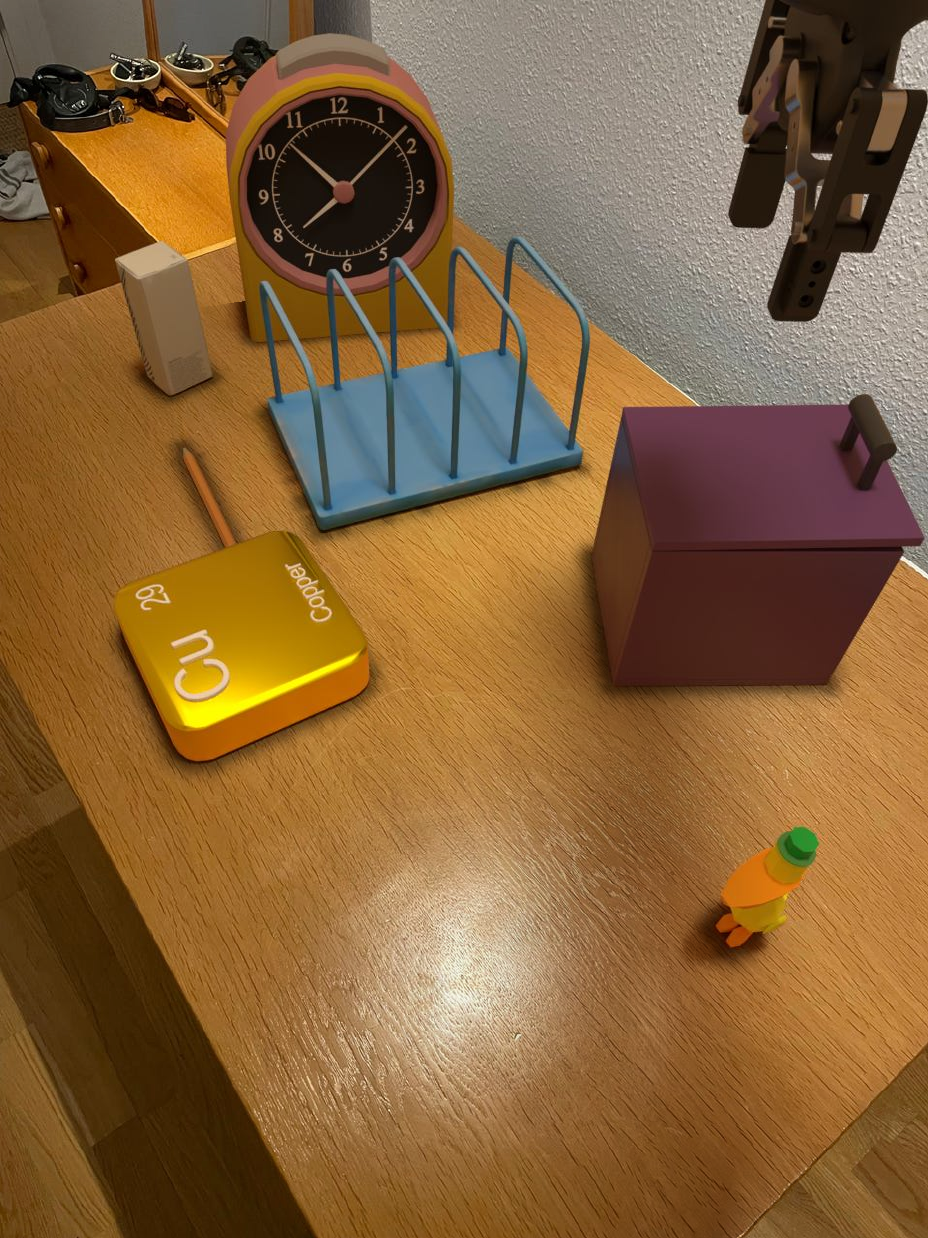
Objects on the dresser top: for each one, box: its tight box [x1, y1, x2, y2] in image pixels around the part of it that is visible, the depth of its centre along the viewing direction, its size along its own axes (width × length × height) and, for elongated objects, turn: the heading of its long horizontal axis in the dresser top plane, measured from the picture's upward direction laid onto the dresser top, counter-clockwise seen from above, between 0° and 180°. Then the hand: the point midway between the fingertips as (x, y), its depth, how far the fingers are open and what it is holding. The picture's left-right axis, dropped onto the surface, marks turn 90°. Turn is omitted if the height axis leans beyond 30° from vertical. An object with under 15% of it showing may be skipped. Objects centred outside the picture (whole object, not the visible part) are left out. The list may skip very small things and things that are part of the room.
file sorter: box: [259, 236, 591, 531], centre depth 83 cm, size 25×17×15 cm
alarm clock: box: [225, 32, 455, 343], centre depth 92 cm, size 21×9×26 cm, turn 102°
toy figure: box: [715, 826, 820, 948], centre depth 55 cm, size 7×4×12 cm, turn 119°
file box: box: [590, 416, 905, 687], centre depth 71 cm, size 17×14×15 cm
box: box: [114, 240, 213, 397], centre depth 88 cm, size 5×4×13 cm
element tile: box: [113, 530, 371, 762], centre depth 70 cm, size 15×15×5 cm
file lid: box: [621, 393, 926, 551], centre depth 63 cm, size 17×14×5 cm
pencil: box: [182, 445, 237, 548], centre depth 81 cm, size 1×1×19 cm
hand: (767, 267), depth 46 cm, fingers open, 8 cm apart
